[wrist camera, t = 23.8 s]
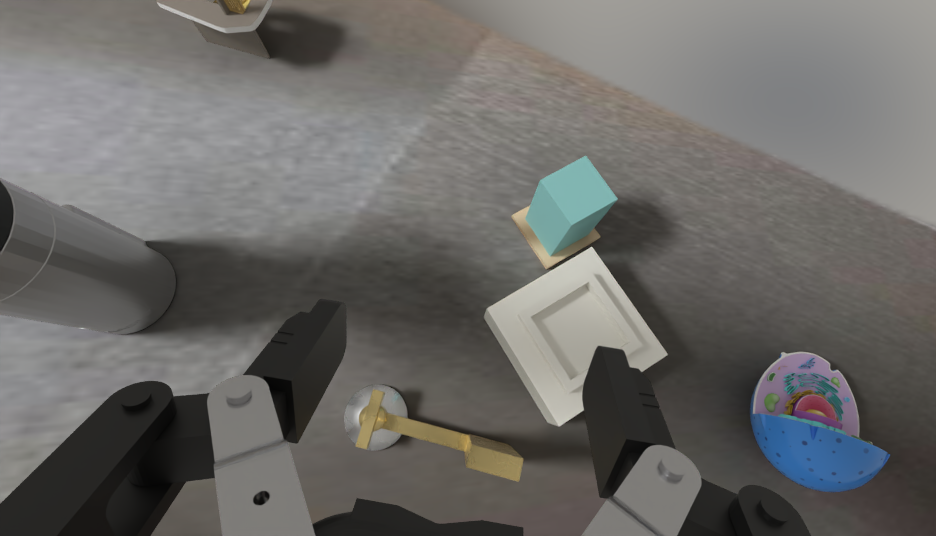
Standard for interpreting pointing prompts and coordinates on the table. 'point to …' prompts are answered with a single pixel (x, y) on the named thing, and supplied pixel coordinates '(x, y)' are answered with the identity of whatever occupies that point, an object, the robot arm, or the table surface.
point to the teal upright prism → (569, 205)
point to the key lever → (441, 439)
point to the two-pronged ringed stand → (225, 21)
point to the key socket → (390, 402)
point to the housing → (569, 332)
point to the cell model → (812, 425)
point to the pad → (538, 247)
